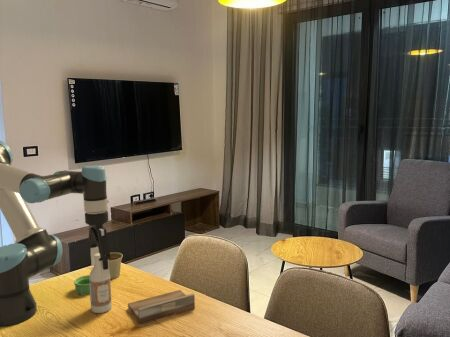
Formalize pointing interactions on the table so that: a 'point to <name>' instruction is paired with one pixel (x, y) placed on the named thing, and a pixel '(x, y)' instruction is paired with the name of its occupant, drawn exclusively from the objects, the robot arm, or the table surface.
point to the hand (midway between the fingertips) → (100, 271)
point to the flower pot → (115, 265)
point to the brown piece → (161, 306)
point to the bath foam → (99, 289)
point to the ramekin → (82, 285)
